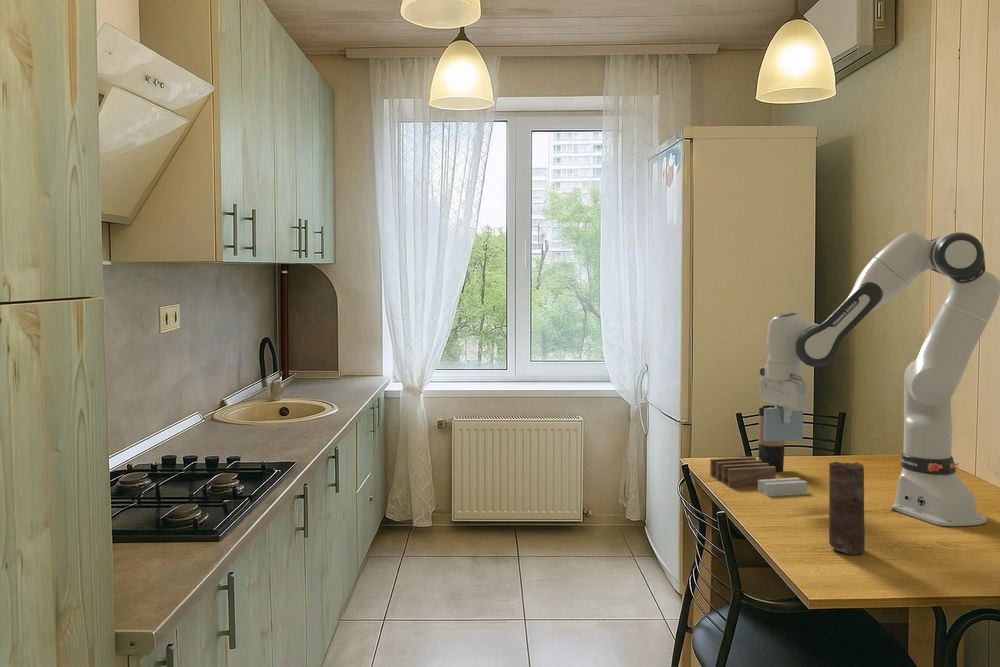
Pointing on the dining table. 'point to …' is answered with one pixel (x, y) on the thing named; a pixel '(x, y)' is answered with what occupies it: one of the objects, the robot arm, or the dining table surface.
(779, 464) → the travel mug
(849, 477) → the dark brown tall block
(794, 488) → the plate stand
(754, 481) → the dish rack
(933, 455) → the robot arm
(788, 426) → the side plate
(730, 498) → the dining table surface
